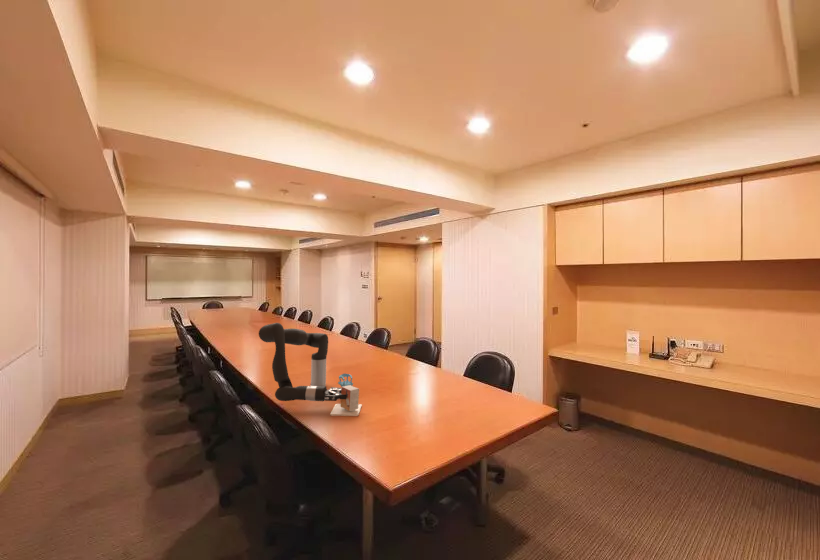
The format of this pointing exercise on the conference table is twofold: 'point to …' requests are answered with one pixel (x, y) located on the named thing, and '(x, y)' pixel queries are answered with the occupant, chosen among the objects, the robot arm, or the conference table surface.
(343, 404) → the small box
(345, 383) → the chair
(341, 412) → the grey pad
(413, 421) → the conference table surface
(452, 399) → the conference table surface
